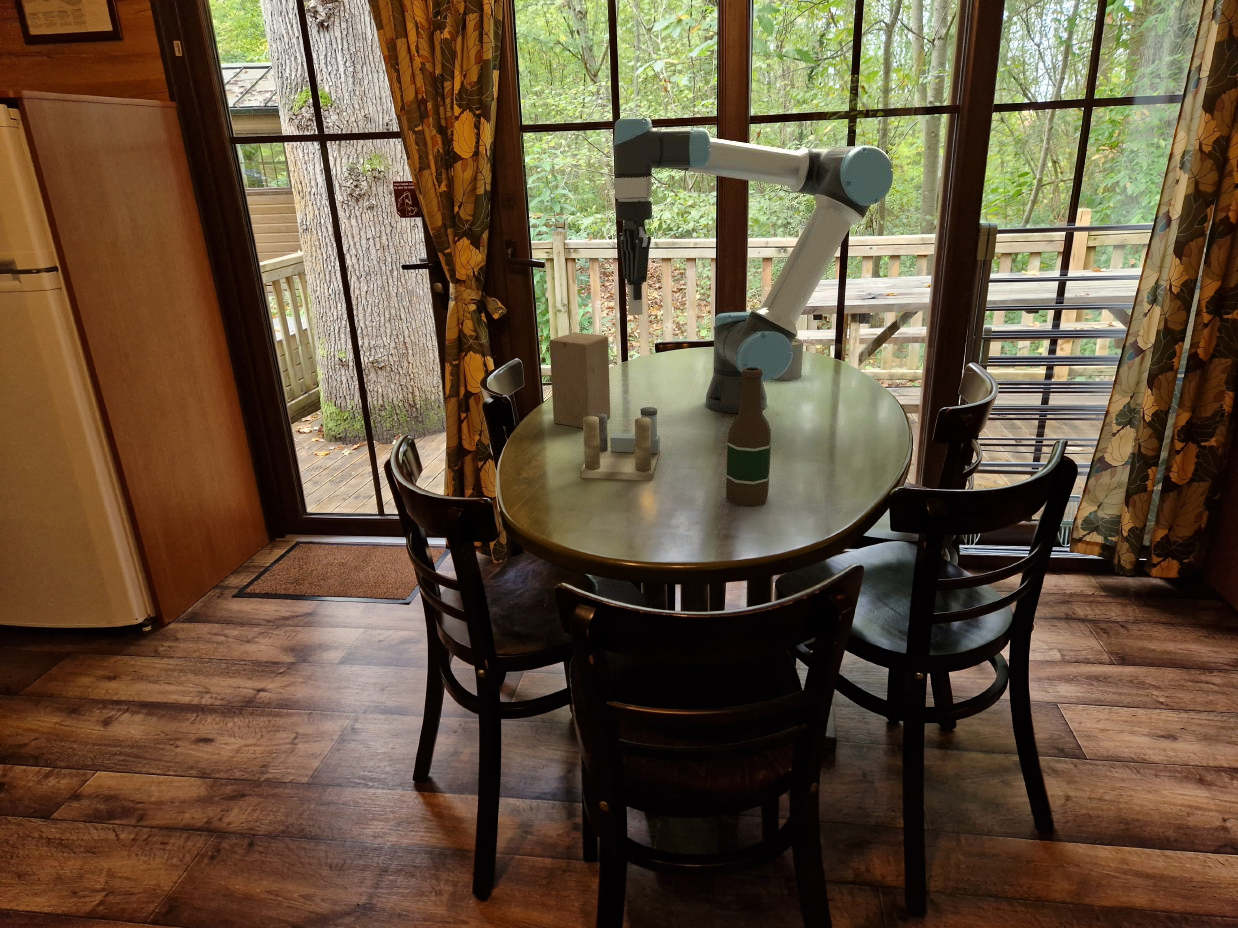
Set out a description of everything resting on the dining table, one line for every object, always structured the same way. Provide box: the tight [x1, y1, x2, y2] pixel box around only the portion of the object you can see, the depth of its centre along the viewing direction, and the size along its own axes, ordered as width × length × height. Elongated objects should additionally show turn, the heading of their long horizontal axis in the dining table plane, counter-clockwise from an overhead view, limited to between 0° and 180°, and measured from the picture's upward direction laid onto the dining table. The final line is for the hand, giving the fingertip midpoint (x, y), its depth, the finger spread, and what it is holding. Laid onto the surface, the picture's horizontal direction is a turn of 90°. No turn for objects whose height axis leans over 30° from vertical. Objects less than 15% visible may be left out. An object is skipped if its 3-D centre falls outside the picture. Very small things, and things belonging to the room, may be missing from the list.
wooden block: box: [548, 331, 611, 429], centre depth 184 cm, size 10×10×20 cm
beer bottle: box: [725, 367, 772, 508], centre depth 137 cm, size 8×8×24 cm
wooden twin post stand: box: [580, 414, 661, 481], centre depth 156 cm, size 14×14×12 cm
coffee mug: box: [776, 337, 804, 381], centre depth 221 cm, size 13×10×10 cm
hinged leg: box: [609, 406, 661, 453], centre depth 160 cm, size 3×10×9 cm, turn 80°
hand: (635, 314), depth 170 cm, fingers closed
